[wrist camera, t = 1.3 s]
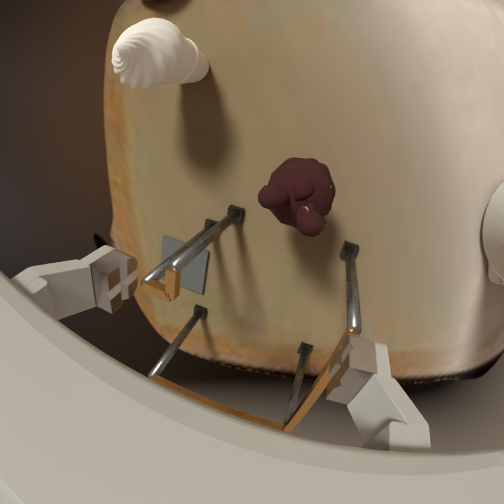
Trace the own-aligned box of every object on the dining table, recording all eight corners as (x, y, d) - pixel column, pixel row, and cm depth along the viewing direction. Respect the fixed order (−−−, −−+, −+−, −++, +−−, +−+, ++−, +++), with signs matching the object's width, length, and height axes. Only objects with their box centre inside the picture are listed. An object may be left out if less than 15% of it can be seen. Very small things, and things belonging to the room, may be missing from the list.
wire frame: (358, 245, 34) (370, 328, 20) (308, 353, 44) (290, 438, 29) (210, 199, 38) (134, 246, 23) (195, 312, 47) (144, 380, 33)
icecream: (346, 172, 31) (356, 200, 18) (314, 219, 35) (300, 275, 22) (298, 141, 31) (272, 146, 18) (269, 190, 35) (226, 228, 22)
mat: (209, 251, 41) (207, 252, 41) (203, 292, 45) (201, 294, 45) (164, 235, 42) (162, 236, 42) (162, 276, 46) (160, 278, 46)
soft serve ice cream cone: (160, 85, 32) (75, 76, 18) (185, 36, 28) (108, 3, 14) (205, 105, 32) (125, 96, 18) (234, 52, 28) (167, 10, 14)
